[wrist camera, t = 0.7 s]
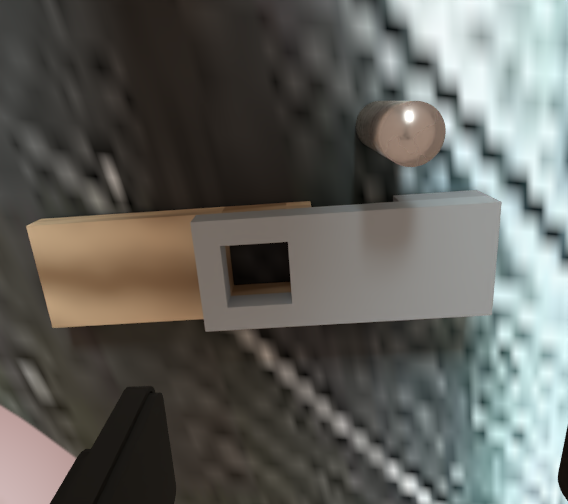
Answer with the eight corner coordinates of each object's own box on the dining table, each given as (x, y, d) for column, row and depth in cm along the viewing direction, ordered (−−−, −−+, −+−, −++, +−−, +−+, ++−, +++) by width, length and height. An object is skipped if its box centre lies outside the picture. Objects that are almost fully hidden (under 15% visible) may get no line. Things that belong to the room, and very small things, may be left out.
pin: (355, 102, 31) (380, 103, 22) (402, 98, 31) (446, 98, 22) (355, 150, 32) (381, 169, 23) (401, 147, 32) (443, 164, 23)
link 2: (201, 208, 33) (190, 222, 29) (476, 189, 32) (501, 201, 29) (214, 306, 36) (205, 331, 32) (469, 291, 35) (491, 315, 31)
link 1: (40, 218, 33) (26, 226, 32) (310, 201, 33) (311, 207, 31) (65, 315, 36) (52, 327, 34) (315, 300, 35) (316, 312, 33)
